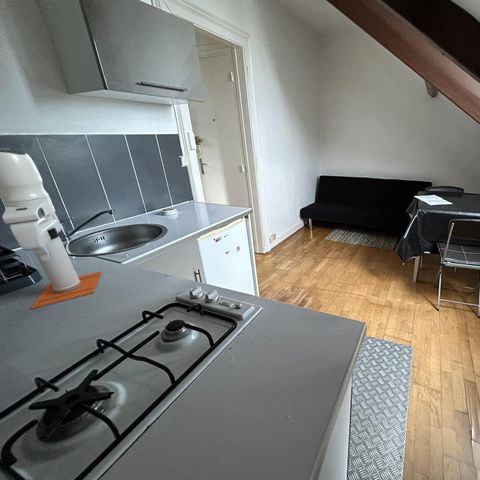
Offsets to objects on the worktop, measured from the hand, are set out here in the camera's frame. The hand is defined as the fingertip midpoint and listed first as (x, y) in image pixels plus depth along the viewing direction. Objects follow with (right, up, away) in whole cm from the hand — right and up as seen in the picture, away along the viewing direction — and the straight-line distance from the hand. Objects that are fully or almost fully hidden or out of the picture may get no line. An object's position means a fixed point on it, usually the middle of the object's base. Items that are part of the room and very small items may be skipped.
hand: (52, 253), depth 78 cm
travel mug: (+1, -11, +4) cm, 12 cm away
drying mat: (+1, -11, +5) cm, 12 cm away
